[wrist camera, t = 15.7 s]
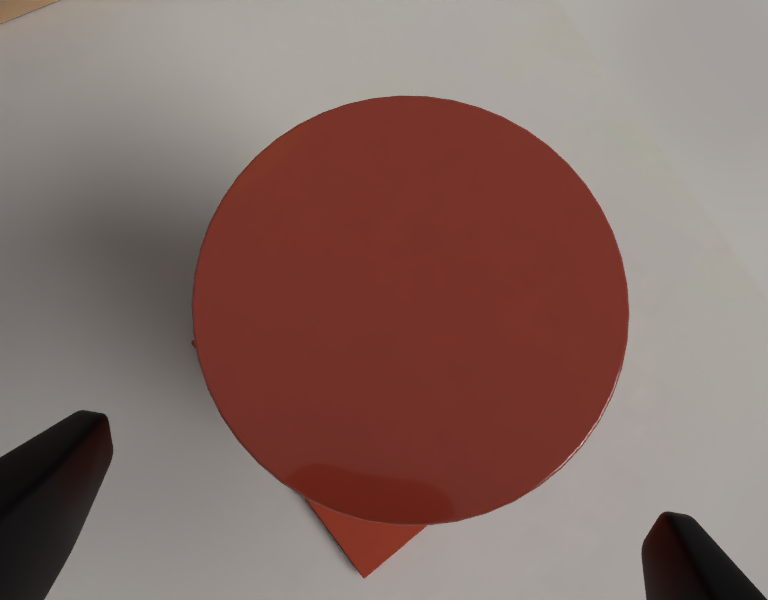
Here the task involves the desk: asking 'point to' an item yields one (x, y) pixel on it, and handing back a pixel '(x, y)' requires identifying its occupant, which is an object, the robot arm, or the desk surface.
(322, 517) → the red mat
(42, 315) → the desk surface
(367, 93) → the desk surface
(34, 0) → the desk lamp
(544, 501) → the desk surface
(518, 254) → the red upright cylinder
